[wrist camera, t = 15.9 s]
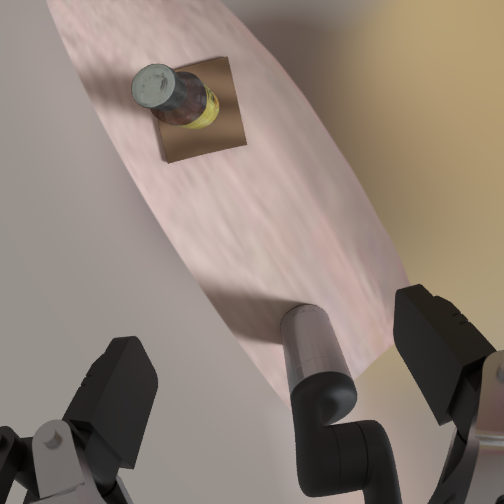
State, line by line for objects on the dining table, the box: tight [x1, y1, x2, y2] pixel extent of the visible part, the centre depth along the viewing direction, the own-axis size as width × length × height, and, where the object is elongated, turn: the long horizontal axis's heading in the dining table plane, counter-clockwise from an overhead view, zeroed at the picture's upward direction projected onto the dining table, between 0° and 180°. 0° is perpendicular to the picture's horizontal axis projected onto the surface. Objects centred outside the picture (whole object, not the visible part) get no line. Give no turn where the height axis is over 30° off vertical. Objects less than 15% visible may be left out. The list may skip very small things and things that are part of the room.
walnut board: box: [158, 57, 247, 164], centre depth 40 cm, size 14×12×1 cm
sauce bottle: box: [131, 64, 219, 129], centre depth 30 cm, size 7×6×20 cm
